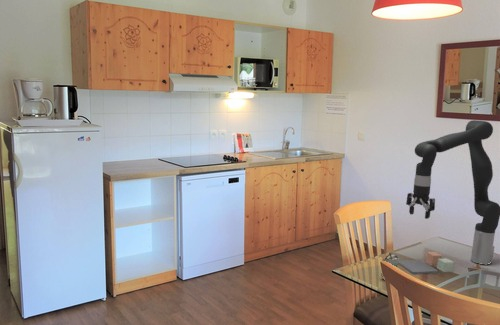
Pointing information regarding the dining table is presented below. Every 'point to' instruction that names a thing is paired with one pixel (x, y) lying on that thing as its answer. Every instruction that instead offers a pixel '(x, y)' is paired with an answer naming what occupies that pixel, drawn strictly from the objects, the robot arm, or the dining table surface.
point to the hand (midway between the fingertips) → (419, 216)
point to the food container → (392, 259)
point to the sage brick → (445, 265)
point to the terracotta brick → (433, 258)
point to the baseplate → (417, 267)
